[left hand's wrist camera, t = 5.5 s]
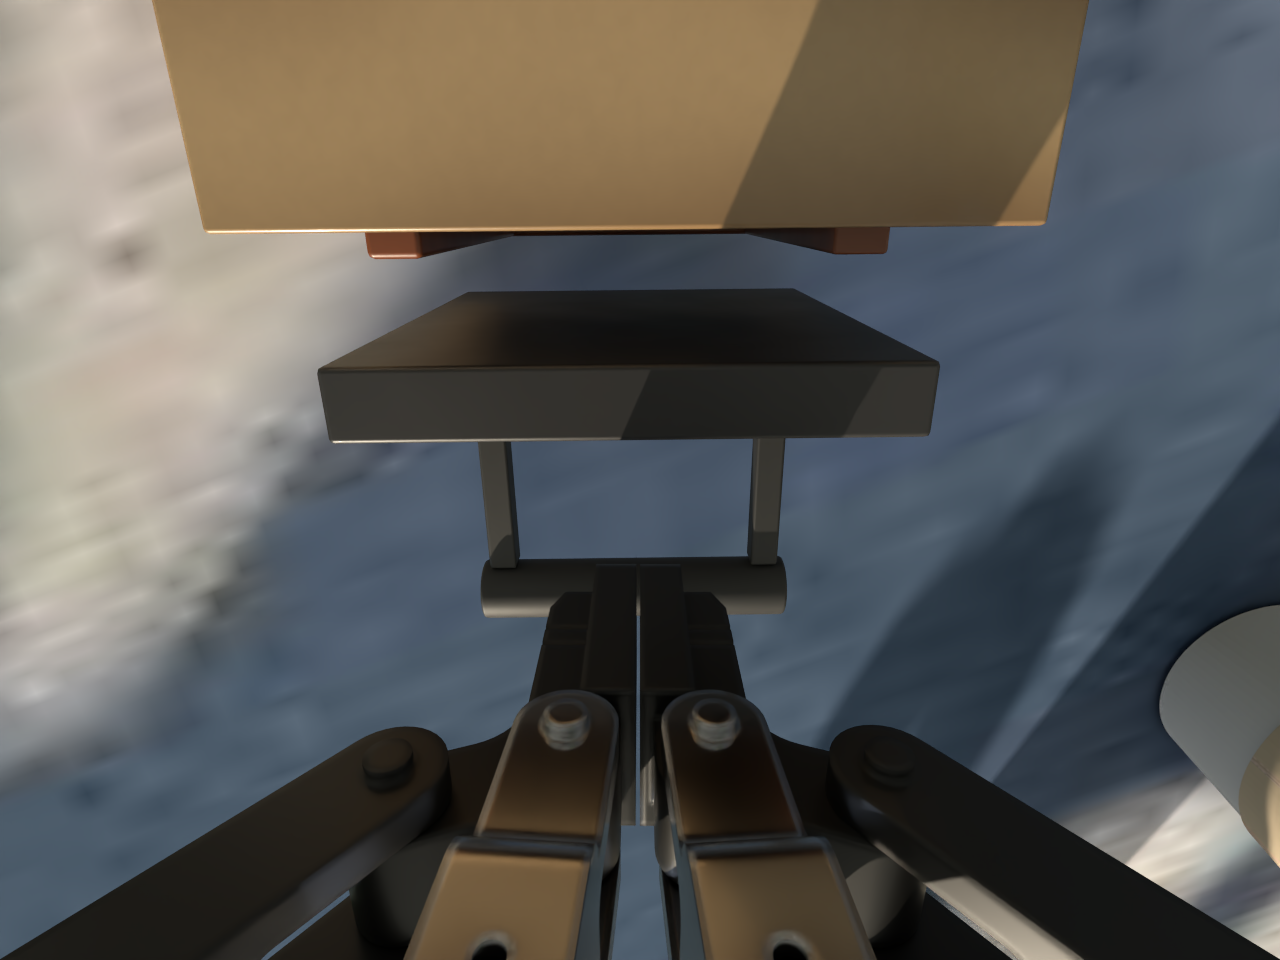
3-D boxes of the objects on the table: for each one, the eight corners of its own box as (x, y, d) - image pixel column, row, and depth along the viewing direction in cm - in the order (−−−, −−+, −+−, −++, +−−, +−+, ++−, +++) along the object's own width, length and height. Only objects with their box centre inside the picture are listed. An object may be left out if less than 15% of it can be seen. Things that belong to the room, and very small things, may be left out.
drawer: (780, 507, 22) (888, 727, 13) (487, 511, 22) (380, 734, 13) (854, -532, 14) (1312, -2072, 4) (385, -530, 14) (-138, -2084, 4)
